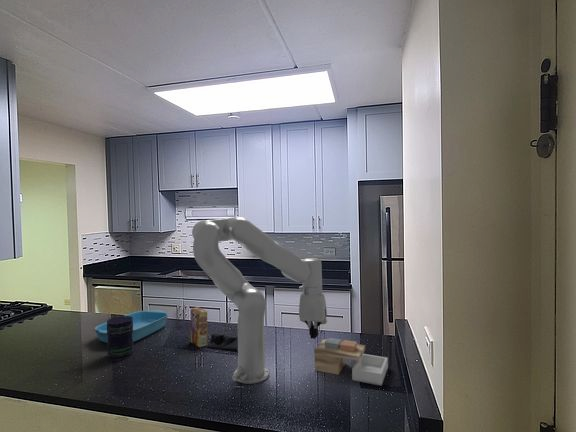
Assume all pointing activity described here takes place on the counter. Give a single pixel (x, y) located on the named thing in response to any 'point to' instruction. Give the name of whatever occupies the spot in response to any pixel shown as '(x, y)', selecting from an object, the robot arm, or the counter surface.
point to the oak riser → (334, 357)
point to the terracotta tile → (348, 345)
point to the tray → (370, 369)
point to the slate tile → (332, 343)
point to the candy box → (199, 327)
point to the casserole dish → (138, 324)
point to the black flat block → (224, 341)
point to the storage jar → (120, 337)
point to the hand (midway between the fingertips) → (313, 337)
